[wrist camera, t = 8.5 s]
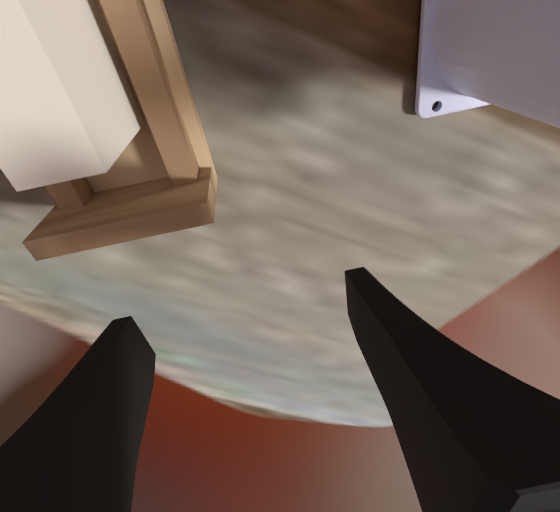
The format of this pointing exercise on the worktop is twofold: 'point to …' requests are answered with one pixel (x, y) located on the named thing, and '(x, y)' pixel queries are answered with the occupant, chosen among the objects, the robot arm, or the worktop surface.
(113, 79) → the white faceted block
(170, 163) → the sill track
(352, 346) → the worktop surface
